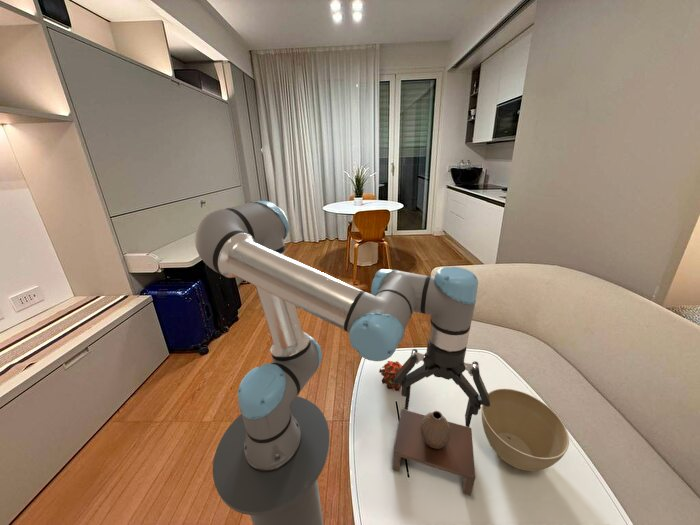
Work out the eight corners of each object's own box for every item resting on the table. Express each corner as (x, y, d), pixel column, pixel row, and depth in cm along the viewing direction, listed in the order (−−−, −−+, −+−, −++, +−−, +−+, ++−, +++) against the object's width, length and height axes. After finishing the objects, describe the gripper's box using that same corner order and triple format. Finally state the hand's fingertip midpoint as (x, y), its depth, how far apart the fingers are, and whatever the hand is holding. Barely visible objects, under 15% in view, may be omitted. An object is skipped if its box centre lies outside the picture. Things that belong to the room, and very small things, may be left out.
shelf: (392, 469, 66) (393, 451, 64) (400, 425, 77) (401, 408, 74) (470, 496, 61) (475, 477, 58) (467, 445, 71) (471, 427, 68)
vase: (414, 439, 66) (416, 414, 63) (429, 421, 70) (432, 397, 67) (439, 460, 61) (442, 435, 58) (454, 440, 66) (458, 415, 62)
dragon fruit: (394, 402, 86) (388, 378, 97) (416, 388, 85) (407, 365, 96) (378, 385, 84) (374, 362, 96) (400, 370, 83) (393, 349, 94)
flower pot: (460, 432, 74) (466, 401, 70) (508, 410, 80) (516, 380, 75) (518, 506, 59) (531, 472, 54) (572, 472, 65) (588, 439, 60)
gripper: (512, 341, 54) (492, 414, 62) (390, 319, 61) (387, 386, 70) (520, 367, 47) (497, 445, 56) (383, 339, 55) (380, 411, 63)
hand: (436, 412), depth 63 cm, fingers open, 13 cm apart
